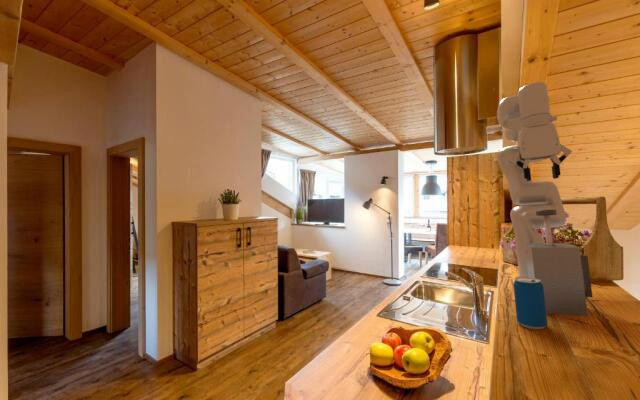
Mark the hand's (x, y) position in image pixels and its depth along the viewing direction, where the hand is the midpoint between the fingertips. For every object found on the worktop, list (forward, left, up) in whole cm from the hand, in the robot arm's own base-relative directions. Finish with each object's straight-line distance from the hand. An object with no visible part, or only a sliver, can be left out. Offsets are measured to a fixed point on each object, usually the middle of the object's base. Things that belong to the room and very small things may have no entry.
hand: (542, 179), depth 88 cm
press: (0, +1, -40) cm, 40 cm away
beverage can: (+17, -9, -40) cm, 44 cm away
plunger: (0, 0, -29) cm, 29 cm away
